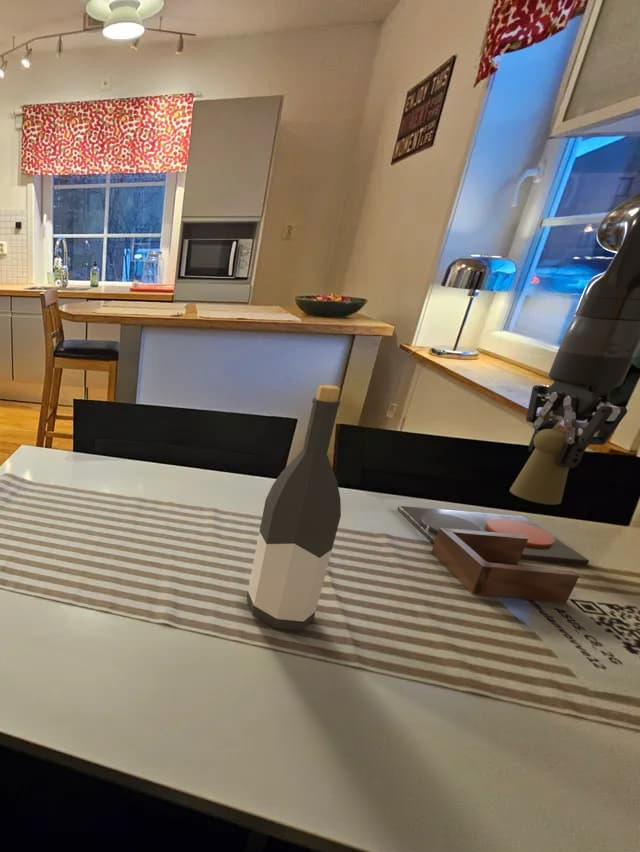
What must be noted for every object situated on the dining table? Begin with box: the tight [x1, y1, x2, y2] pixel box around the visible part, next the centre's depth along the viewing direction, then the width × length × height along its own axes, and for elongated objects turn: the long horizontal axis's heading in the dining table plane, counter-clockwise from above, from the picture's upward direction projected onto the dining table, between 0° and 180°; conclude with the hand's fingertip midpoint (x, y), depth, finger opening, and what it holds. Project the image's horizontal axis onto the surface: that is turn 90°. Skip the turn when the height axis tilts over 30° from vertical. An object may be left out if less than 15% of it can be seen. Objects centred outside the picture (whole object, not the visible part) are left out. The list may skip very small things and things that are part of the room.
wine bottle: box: [246, 384, 342, 632], centre depth 59 cm, size 8×8×30 cm
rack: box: [430, 528, 580, 605], centre depth 71 cm, size 11×10×4 cm
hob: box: [397, 505, 590, 566], centre depth 82 cm, size 20×14×1 cm
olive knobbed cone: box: [509, 428, 580, 506], centre depth 77 cm, size 6×6×11 cm
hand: (550, 458), depth 76 cm, fingers closed on olive knobbed cone, 5 cm apart
